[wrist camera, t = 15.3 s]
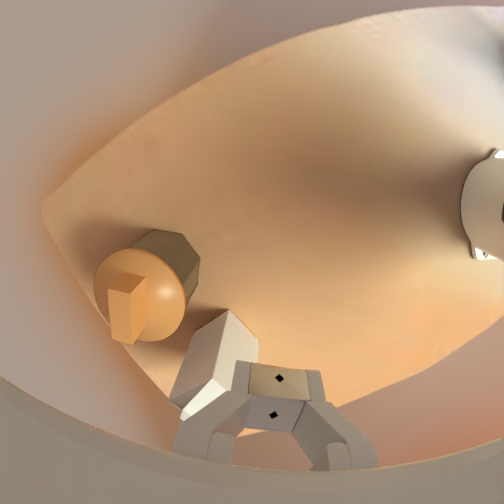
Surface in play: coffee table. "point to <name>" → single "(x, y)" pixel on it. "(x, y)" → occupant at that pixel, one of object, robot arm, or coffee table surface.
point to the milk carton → (212, 363)
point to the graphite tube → (173, 256)
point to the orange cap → (139, 296)
